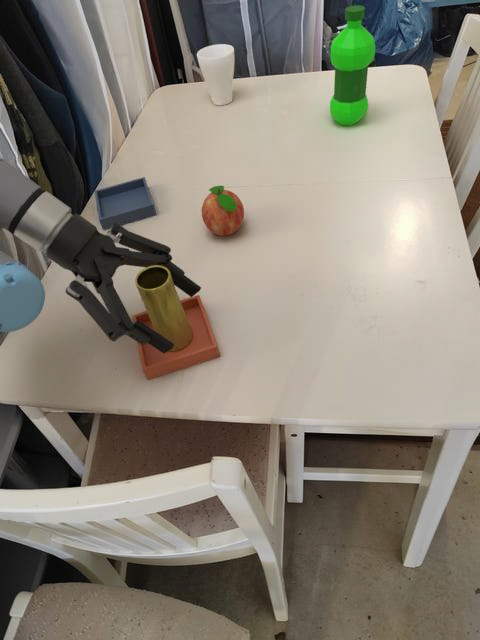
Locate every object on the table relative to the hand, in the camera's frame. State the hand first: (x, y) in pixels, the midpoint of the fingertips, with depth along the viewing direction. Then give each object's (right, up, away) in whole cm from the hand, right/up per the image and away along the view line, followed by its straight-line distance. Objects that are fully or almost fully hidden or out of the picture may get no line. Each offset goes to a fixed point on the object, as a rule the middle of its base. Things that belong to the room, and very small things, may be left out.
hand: (183, 319), depth 70 cm
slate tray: (-17, +26, +33) cm, 45 cm away
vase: (-2, -3, +5) cm, 6 cm away
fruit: (+6, +19, +23) cm, 31 cm away
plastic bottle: (+37, +52, +46) cm, 79 cm away
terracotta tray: (-2, -4, +6) cm, 7 cm away
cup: (+4, +65, +63) cm, 91 cm away
